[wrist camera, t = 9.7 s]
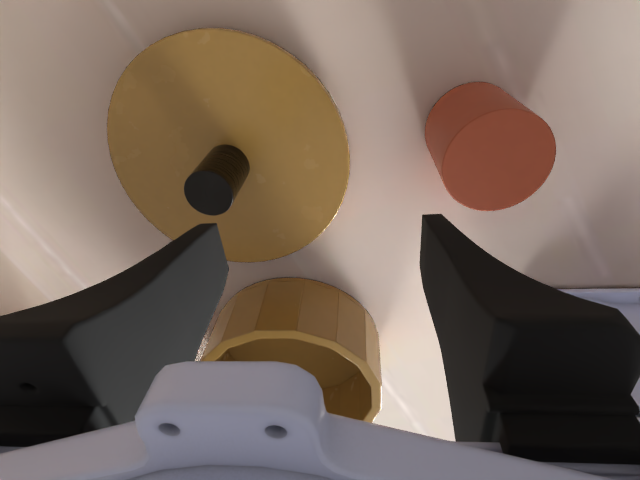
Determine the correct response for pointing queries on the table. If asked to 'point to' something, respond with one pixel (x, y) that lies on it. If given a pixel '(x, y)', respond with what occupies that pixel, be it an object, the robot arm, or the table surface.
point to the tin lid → (229, 142)
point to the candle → (488, 146)
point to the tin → (306, 339)
